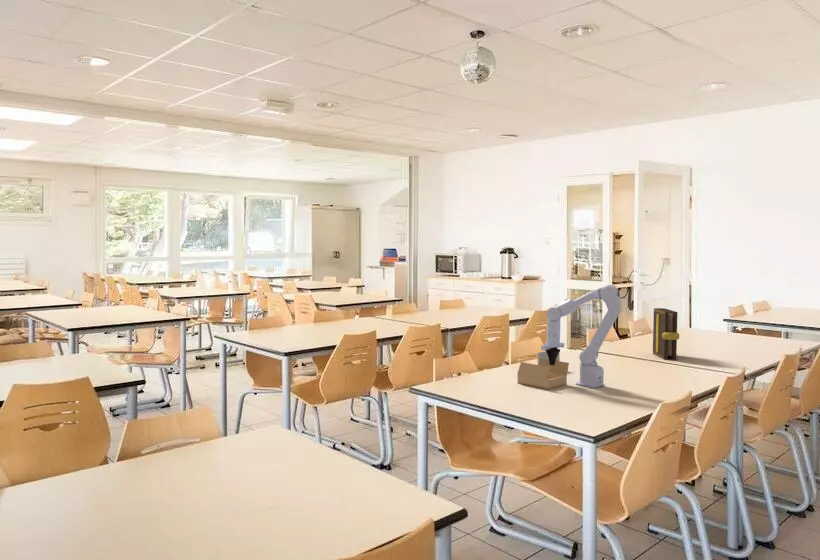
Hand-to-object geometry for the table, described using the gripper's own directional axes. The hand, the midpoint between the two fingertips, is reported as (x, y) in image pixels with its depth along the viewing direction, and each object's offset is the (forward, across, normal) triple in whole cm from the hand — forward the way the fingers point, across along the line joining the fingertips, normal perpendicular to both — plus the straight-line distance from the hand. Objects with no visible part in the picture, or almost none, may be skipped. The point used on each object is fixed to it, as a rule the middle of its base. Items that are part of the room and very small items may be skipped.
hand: (552, 364), depth 278 cm
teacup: (+8, -22, -17) cm, 29 cm away
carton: (+7, +8, 0) cm, 11 cm away
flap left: (+1, +14, 0) cm, 14 cm away
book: (+6, -94, +5) cm, 95 cm away
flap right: (+1, 0, 0) cm, 1 cm away
